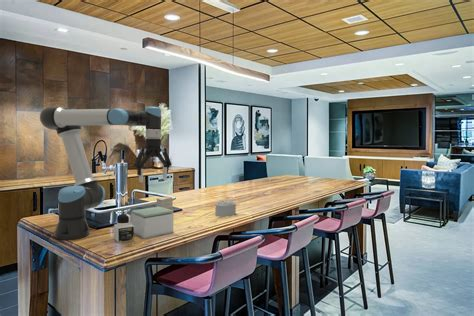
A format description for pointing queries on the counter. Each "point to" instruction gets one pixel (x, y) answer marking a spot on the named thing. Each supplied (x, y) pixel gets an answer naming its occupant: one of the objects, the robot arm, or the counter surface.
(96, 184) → the robot arm
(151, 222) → the storage box
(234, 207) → the lumpy-topped squat cylinder
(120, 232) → the medicine bottle
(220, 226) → the counter surface
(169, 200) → the supplement box
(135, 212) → the lid
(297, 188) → the counter surface
